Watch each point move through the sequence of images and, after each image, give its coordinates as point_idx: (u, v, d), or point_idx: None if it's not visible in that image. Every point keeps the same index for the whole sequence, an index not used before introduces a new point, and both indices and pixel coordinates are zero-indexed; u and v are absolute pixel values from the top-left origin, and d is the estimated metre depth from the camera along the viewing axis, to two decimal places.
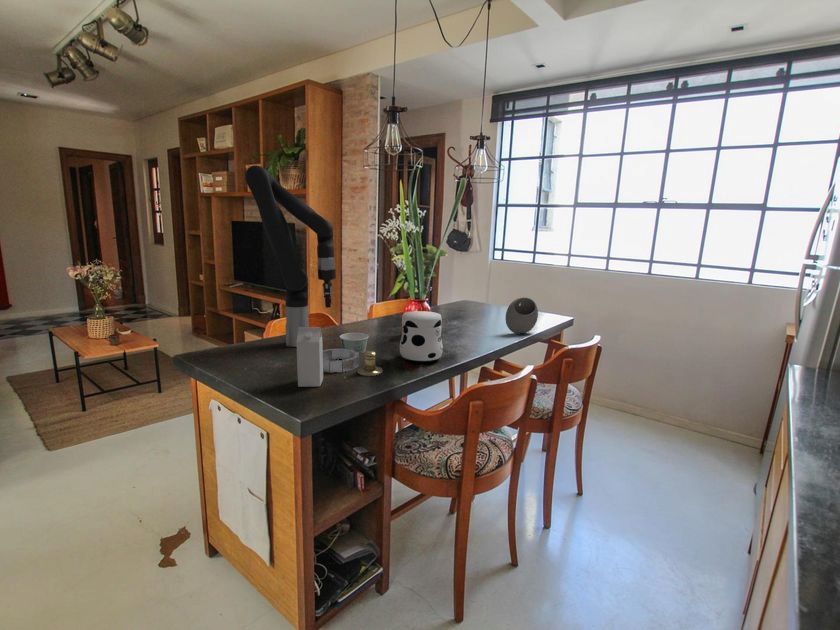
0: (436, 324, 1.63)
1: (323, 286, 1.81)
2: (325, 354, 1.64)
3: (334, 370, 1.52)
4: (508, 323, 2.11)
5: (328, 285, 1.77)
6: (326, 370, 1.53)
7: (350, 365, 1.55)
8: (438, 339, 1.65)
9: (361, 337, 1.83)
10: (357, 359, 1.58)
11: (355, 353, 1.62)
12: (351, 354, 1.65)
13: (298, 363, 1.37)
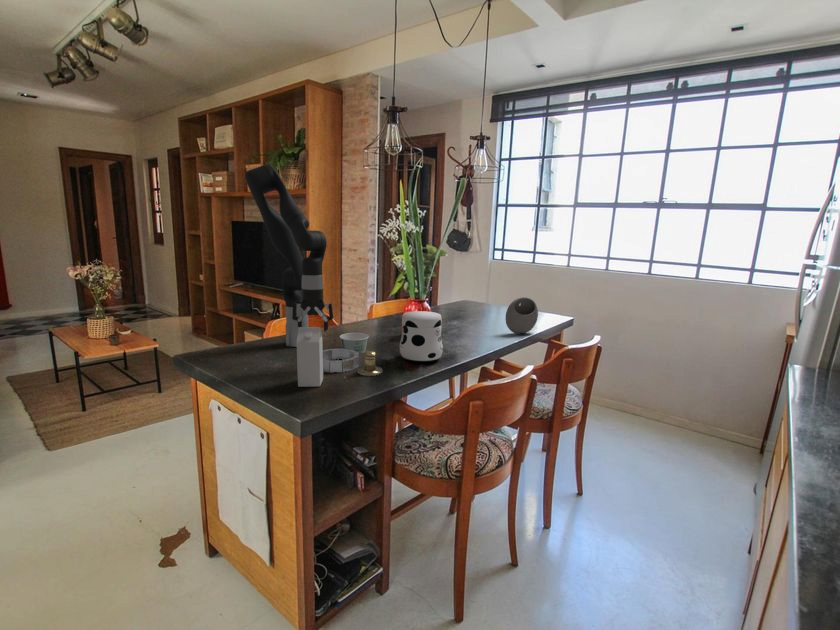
0: (436, 324, 1.63)
1: (318, 308, 1.53)
2: (325, 354, 1.64)
3: (334, 370, 1.52)
4: (508, 323, 2.11)
5: None
6: (326, 370, 1.53)
7: (350, 365, 1.55)
8: (438, 339, 1.65)
9: (361, 337, 1.83)
10: (357, 359, 1.58)
11: (355, 353, 1.62)
12: (351, 354, 1.65)
13: (298, 363, 1.37)
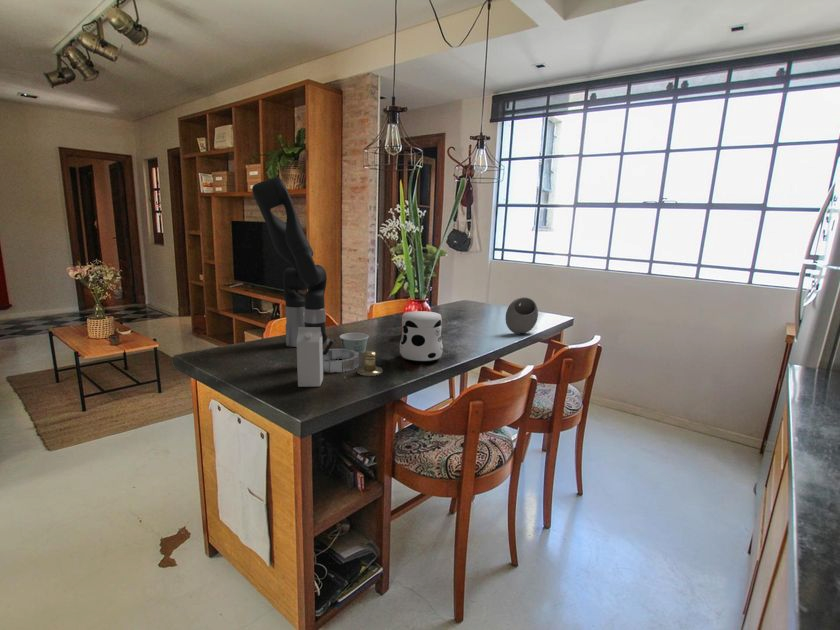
0: (436, 324, 1.63)
1: None
2: None
3: (334, 370, 1.52)
4: (508, 323, 2.11)
5: None
6: (326, 370, 1.53)
7: (350, 365, 1.55)
8: (438, 339, 1.65)
9: (361, 337, 1.83)
10: (357, 359, 1.58)
11: (355, 353, 1.62)
12: (351, 354, 1.65)
13: (298, 363, 1.37)
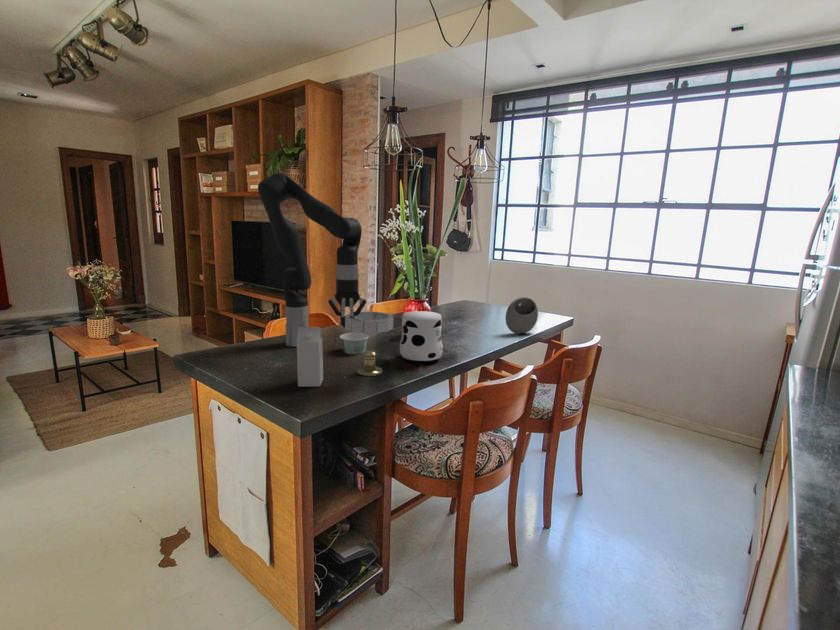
0: (436, 324, 1.63)
1: (353, 301, 1.46)
2: (356, 316, 1.54)
3: (368, 330, 1.42)
4: (508, 323, 2.11)
5: None
6: (360, 330, 1.42)
7: (385, 326, 1.44)
8: (438, 339, 1.65)
9: (361, 337, 1.83)
10: (392, 320, 1.48)
11: (389, 315, 1.52)
12: (383, 316, 1.55)
13: (298, 363, 1.37)
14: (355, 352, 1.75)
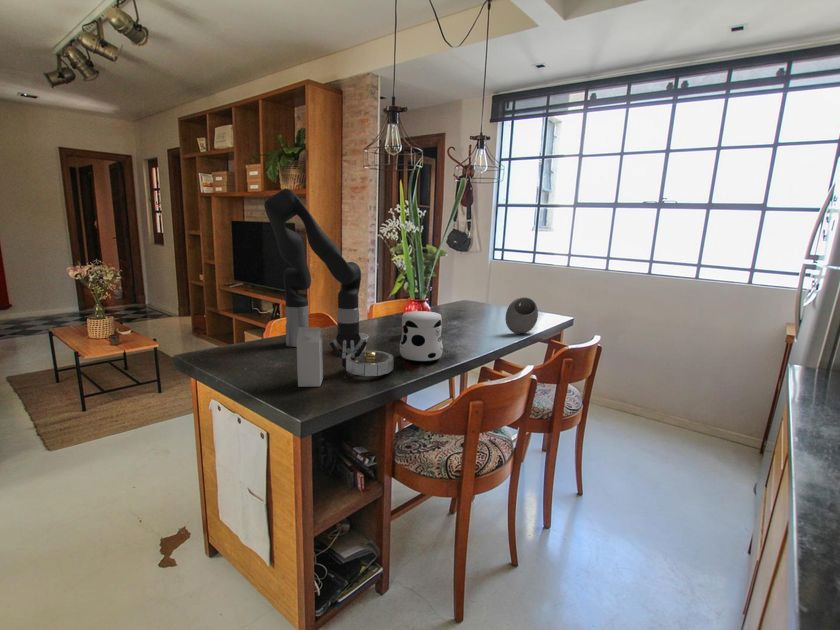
0: (436, 324, 1.63)
1: (354, 343, 1.49)
2: (357, 356, 1.58)
3: (369, 373, 1.45)
4: (508, 323, 2.11)
5: None
6: (360, 373, 1.46)
7: (385, 368, 1.48)
8: (438, 339, 1.65)
9: (361, 337, 1.83)
10: (392, 362, 1.51)
11: (389, 355, 1.55)
12: (383, 356, 1.58)
13: (298, 363, 1.37)
14: None
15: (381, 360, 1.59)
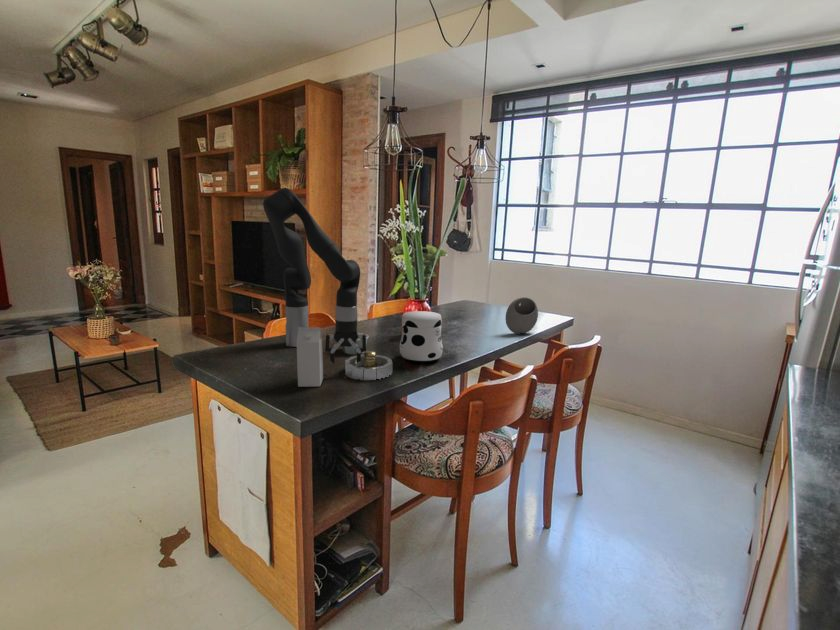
0: (436, 324, 1.63)
1: (352, 340, 1.49)
2: None
3: (368, 378, 1.46)
4: (508, 323, 2.11)
5: (365, 336, 1.52)
6: (360, 378, 1.46)
7: (384, 372, 1.48)
8: (438, 339, 1.65)
9: None
10: (391, 366, 1.52)
11: (388, 359, 1.56)
12: (383, 360, 1.58)
13: (298, 363, 1.37)
14: (355, 352, 1.75)
15: (380, 364, 1.59)
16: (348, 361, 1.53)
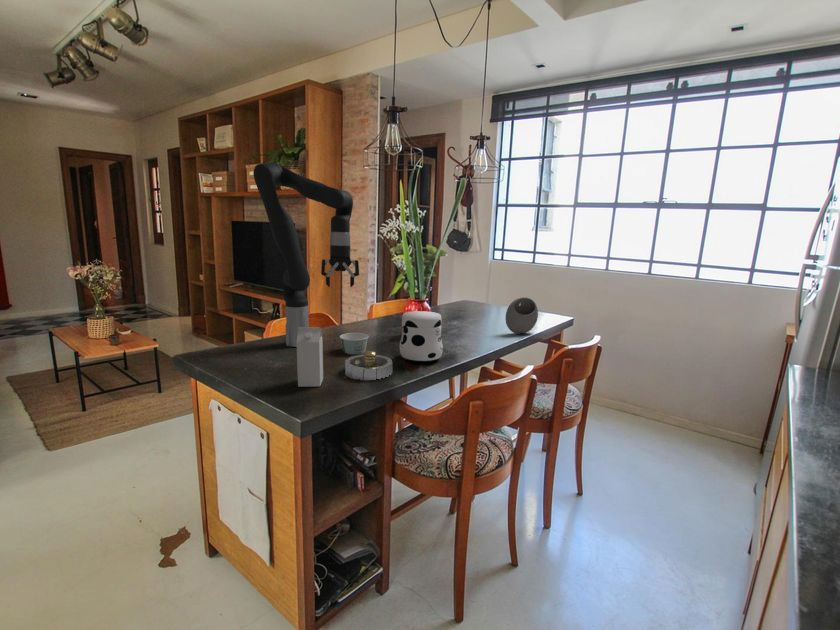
0: (436, 324, 1.63)
1: (346, 264, 1.63)
2: (356, 360, 1.58)
3: (368, 378, 1.46)
4: (508, 323, 2.11)
5: None
6: (360, 378, 1.46)
7: (384, 372, 1.48)
8: (438, 339, 1.65)
9: (361, 337, 1.83)
10: (391, 366, 1.52)
11: (388, 359, 1.56)
12: (383, 360, 1.58)
13: (298, 363, 1.37)
14: (355, 352, 1.75)
15: (380, 364, 1.59)
16: (348, 361, 1.53)
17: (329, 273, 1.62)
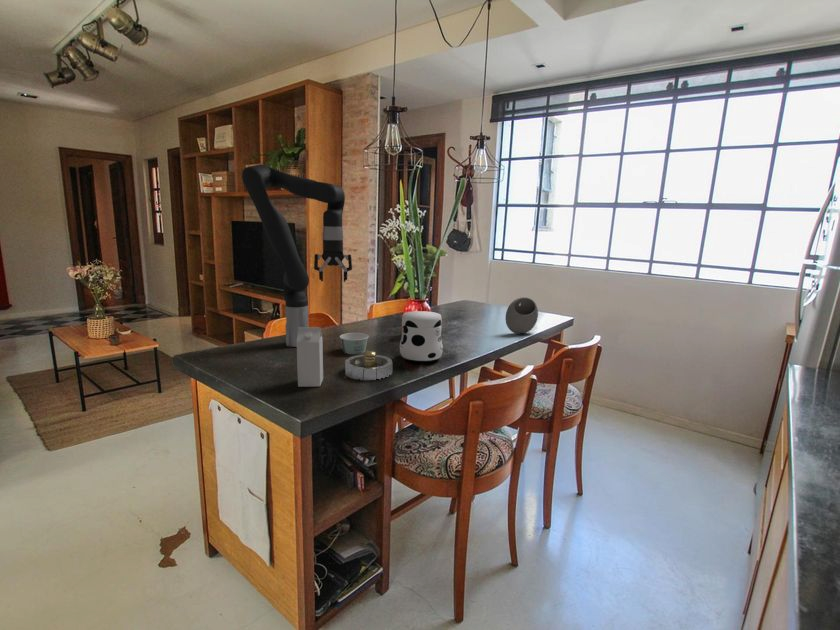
0: (436, 324, 1.63)
1: (339, 259, 1.63)
2: (356, 360, 1.58)
3: (368, 378, 1.46)
4: (508, 323, 2.11)
5: None
6: (360, 378, 1.46)
7: (384, 372, 1.48)
8: (438, 339, 1.65)
9: (361, 337, 1.83)
10: (391, 366, 1.52)
11: (388, 359, 1.56)
12: (383, 360, 1.58)
13: (298, 363, 1.37)
14: (355, 352, 1.75)
15: (380, 364, 1.59)
16: (348, 361, 1.53)
17: (322, 268, 1.63)
